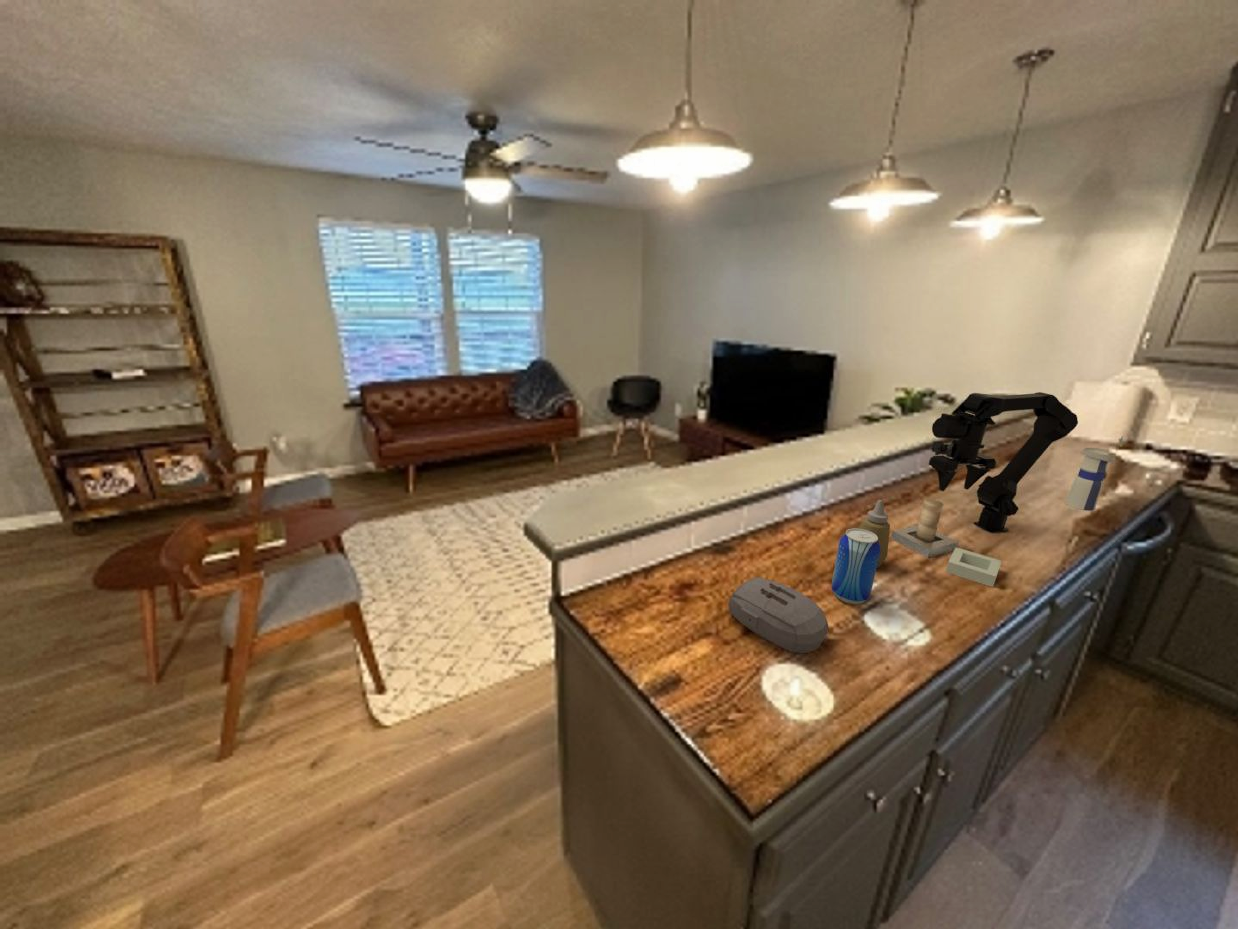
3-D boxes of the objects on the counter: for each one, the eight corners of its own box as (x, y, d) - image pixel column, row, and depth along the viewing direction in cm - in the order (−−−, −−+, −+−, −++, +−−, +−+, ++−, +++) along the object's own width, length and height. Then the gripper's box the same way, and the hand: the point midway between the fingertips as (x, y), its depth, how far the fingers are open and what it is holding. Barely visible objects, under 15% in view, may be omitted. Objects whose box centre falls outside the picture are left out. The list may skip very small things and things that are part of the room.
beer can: (866, 610, 111) (880, 548, 105) (827, 598, 115) (838, 537, 110) (871, 592, 118) (884, 532, 112) (833, 581, 122) (844, 523, 116)
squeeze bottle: (882, 558, 132) (896, 496, 126) (887, 573, 125) (901, 509, 119) (849, 553, 135) (861, 492, 129) (852, 568, 128) (865, 504, 122)
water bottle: (1083, 500, 170) (1108, 431, 162) (1103, 511, 162) (1131, 438, 154) (1057, 499, 171) (1081, 430, 162) (1076, 510, 163) (1102, 437, 154)
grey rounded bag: (718, 618, 108) (802, 670, 94) (721, 586, 105) (808, 634, 91) (759, 592, 117) (840, 636, 103) (763, 562, 114) (847, 602, 100)
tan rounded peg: (921, 539, 143) (931, 498, 138) (935, 546, 139) (947, 504, 134) (910, 541, 141) (920, 500, 137) (924, 549, 137) (935, 506, 133)
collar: (953, 557, 133) (955, 547, 132) (998, 570, 127) (1001, 560, 126) (945, 571, 126) (948, 561, 125) (992, 587, 120) (996, 576, 119)
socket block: (919, 531, 147) (920, 524, 146) (956, 550, 137) (958, 542, 136) (890, 538, 143) (892, 530, 142) (927, 557, 133) (929, 549, 132)
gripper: (968, 430, 149) (953, 478, 154) (920, 431, 144) (906, 481, 149) (1005, 441, 139) (987, 492, 144) (954, 442, 134) (938, 495, 139)
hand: (953, 489), depth 144 cm, fingers open, 9 cm apart
